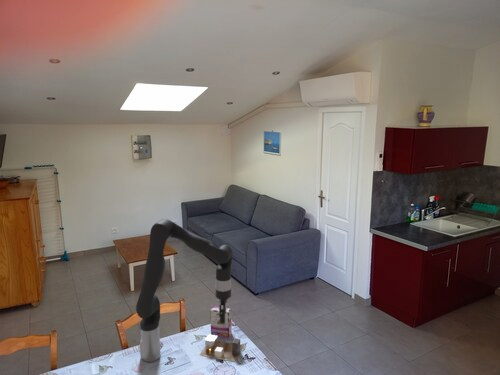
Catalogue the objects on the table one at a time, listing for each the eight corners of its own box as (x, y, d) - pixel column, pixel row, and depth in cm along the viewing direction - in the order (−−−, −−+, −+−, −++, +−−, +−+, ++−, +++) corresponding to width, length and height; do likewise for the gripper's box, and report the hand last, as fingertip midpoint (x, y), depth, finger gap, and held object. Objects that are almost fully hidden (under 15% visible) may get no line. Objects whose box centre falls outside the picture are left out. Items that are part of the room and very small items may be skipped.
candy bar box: (231, 334, 202) (231, 307, 199) (229, 339, 197) (228, 312, 194) (213, 331, 204) (212, 305, 202) (210, 336, 199) (209, 310, 197)
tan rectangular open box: (199, 356, 182) (198, 342, 181) (210, 341, 195) (209, 328, 194) (235, 364, 176) (235, 349, 175) (244, 347, 189) (243, 334, 188)
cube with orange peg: (202, 353, 182) (202, 343, 181) (209, 344, 190) (208, 334, 189) (211, 355, 181) (211, 345, 180) (217, 346, 189) (217, 336, 188)
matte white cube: (214, 356, 180) (214, 350, 180) (217, 352, 184) (217, 346, 183) (220, 358, 179) (220, 351, 179) (223, 353, 183) (223, 347, 182)
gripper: (217, 280, 174) (217, 310, 176) (213, 294, 160) (213, 326, 162) (232, 280, 174) (231, 310, 176) (230, 294, 160) (230, 326, 162)
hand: (223, 318), depth 169 cm, fingers open, 8 cm apart
